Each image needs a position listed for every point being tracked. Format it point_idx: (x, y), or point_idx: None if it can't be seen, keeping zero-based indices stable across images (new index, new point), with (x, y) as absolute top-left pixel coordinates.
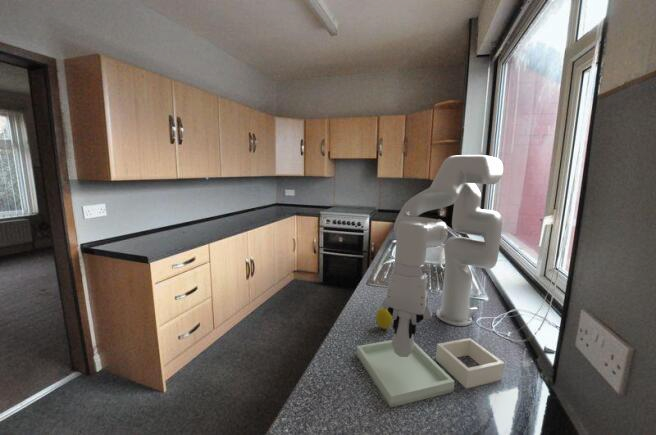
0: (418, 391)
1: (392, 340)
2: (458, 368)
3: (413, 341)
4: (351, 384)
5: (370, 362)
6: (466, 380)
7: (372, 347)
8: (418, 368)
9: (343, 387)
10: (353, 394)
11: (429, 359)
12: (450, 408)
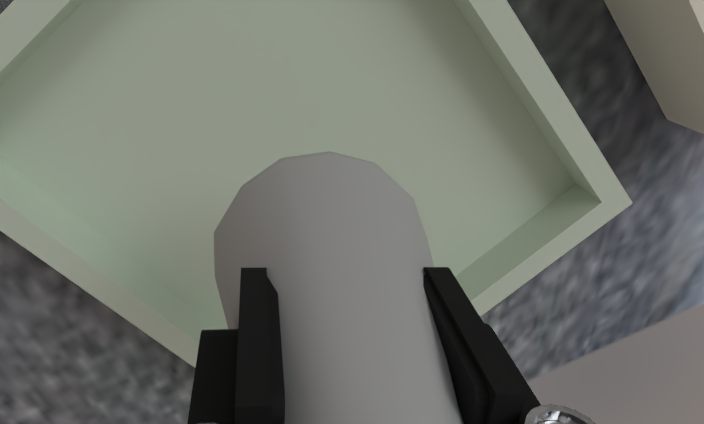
0: None
1: (219, 292)
2: (696, 82)
3: (432, 264)
4: (68, 369)
5: (98, 283)
6: (700, 130)
7: (12, 66)
8: (414, 103)
9: (41, 403)
10: (113, 414)
11: (506, 46)
12: (555, 284)
